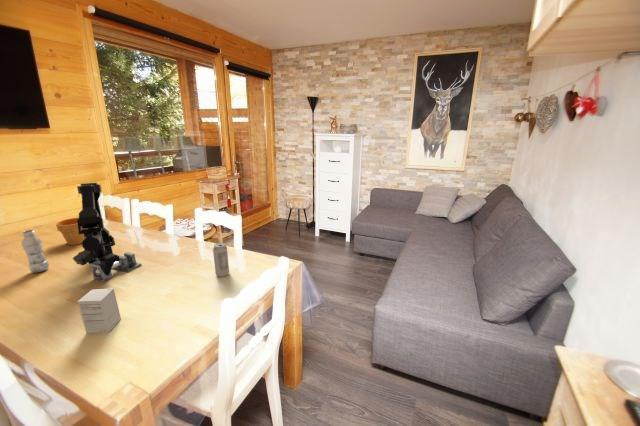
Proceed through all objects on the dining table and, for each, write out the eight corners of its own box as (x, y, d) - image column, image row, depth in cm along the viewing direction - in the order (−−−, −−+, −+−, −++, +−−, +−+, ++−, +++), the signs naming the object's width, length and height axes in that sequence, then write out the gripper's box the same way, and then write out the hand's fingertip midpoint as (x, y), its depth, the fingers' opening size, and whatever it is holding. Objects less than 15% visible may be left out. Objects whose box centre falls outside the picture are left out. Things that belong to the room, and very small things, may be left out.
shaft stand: (91, 278, 128) (88, 265, 126) (127, 262, 143) (124, 250, 142) (106, 282, 125) (103, 269, 123) (141, 265, 140) (139, 254, 138)
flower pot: (97, 240, 169) (92, 220, 165) (67, 248, 158) (61, 227, 154) (87, 235, 176) (82, 216, 173) (57, 243, 165) (51, 222, 161)
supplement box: (99, 319, 101) (92, 288, 97) (121, 318, 102) (114, 287, 98) (85, 334, 94) (76, 301, 90) (108, 333, 95) (100, 300, 91)
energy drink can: (225, 270, 137) (222, 241, 132) (231, 274, 133) (229, 245, 128) (213, 274, 133) (210, 244, 128) (219, 279, 129) (216, 248, 124)
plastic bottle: (53, 268, 136) (42, 229, 130) (36, 275, 130) (23, 234, 124) (44, 266, 138) (33, 228, 132) (27, 273, 132) (14, 233, 126)
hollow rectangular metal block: (93, 278, 127) (89, 263, 125) (102, 274, 131) (99, 259, 129) (103, 281, 125) (99, 265, 123) (112, 276, 129) (109, 261, 127)
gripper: (59, 245, 119) (68, 278, 123) (89, 252, 113) (98, 287, 117) (87, 236, 129) (95, 267, 133) (117, 242, 123) (123, 274, 128)
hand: (102, 274), depth 128 cm, fingers closed on hollow rectangular metal block, 6 cm apart
